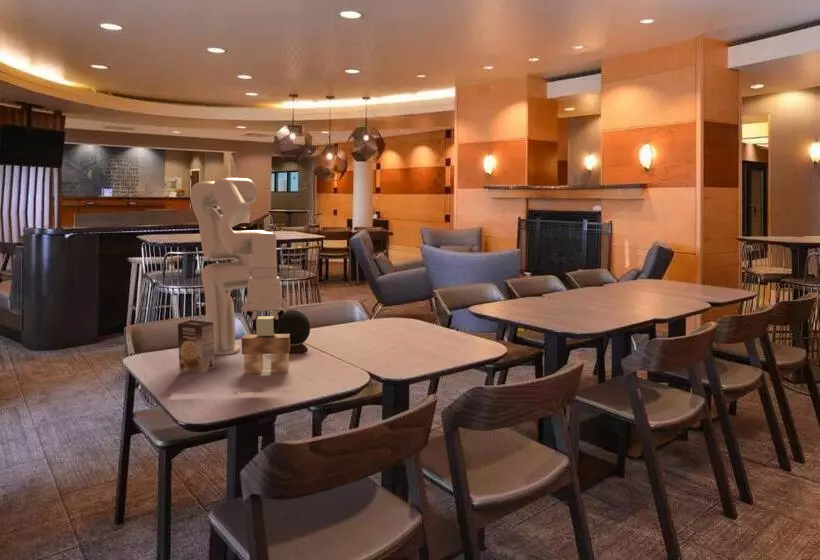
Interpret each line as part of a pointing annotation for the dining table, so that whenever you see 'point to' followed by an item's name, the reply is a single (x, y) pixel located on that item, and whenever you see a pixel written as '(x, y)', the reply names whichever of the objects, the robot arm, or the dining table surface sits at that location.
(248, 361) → the block
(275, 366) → the block
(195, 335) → the coffee box
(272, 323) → the cube
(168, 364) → the dining table surface
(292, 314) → the black ball on stand
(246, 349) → the plank
